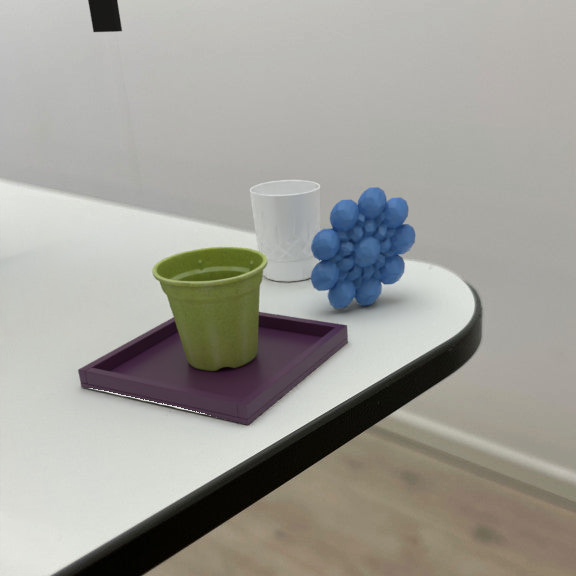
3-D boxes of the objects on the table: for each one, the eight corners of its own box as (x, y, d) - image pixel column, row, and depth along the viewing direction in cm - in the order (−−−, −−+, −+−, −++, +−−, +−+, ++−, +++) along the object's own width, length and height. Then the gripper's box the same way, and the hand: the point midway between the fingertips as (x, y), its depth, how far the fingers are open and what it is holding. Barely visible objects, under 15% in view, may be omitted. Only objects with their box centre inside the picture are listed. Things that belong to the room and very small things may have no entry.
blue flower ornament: (395, 283, 85) (393, 174, 80) (426, 302, 79) (426, 185, 74) (297, 303, 80) (289, 188, 75) (323, 324, 75) (315, 201, 70)
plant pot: (232, 390, 61) (219, 288, 58) (144, 369, 66) (127, 272, 62) (296, 346, 69) (289, 253, 65) (213, 330, 73) (202, 241, 69)
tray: (81, 387, 64) (77, 369, 63) (201, 318, 77) (199, 302, 77) (248, 425, 57) (245, 405, 56) (348, 342, 70) (347, 325, 70)
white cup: (305, 287, 85) (298, 197, 80) (244, 279, 88) (235, 192, 84) (336, 266, 91) (332, 181, 87) (279, 259, 94) (272, 178, 90)
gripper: (-149, -364, 43) (-50, 43, 52) (145, -252, 63) (180, 28, 72) (-227, -335, 46) (-121, 45, 55) (77, -237, 66) (119, 29, 75)
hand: (50, 36), depth 64 cm, fingers open, 13 cm apart
